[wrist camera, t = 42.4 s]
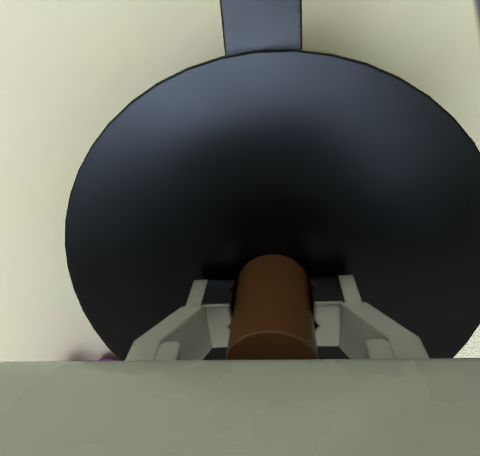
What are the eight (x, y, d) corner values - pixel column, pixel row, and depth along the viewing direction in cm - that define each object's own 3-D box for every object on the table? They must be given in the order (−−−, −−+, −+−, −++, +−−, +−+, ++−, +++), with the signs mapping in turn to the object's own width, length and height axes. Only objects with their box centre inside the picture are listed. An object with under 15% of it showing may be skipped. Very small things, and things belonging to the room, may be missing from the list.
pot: (402, -10, 20) (552, -66, 9) (376, 292, 29) (438, 448, 18) (142, 19, 22) (8, 1, 11) (192, 297, 31) (146, 442, 20)
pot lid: (536, 20, 11) (735, 7, 6) (451, 403, 18) (514, 534, 13) (21, 73, 13) (-128, 94, 8) (128, 401, 19) (82, 515, 15)
